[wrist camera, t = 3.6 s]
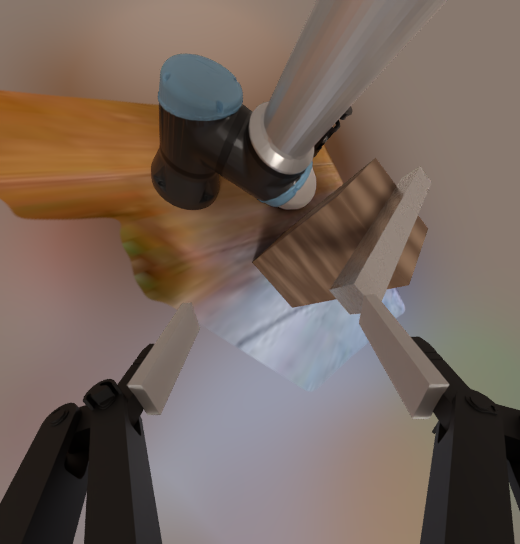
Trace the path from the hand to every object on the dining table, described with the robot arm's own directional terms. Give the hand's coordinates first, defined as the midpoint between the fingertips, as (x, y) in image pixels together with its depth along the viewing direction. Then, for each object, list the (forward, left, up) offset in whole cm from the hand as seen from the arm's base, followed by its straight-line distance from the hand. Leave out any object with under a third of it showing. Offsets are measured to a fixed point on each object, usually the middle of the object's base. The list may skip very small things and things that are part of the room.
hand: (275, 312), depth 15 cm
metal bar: (-14, +19, -1) cm, 23 cm away
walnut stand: (-17, +21, -29) cm, 40 cm away
